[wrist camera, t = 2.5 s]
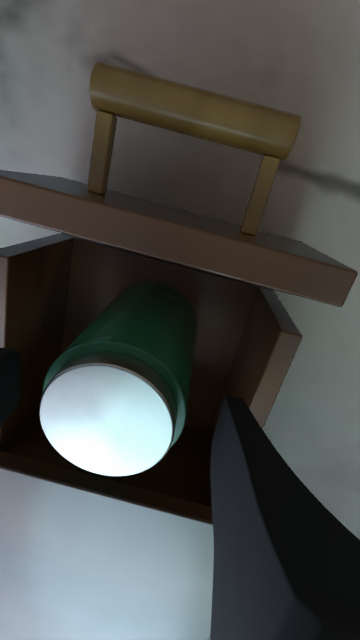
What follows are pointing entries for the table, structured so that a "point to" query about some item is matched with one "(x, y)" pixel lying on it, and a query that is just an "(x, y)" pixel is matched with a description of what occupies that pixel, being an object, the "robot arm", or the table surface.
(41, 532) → the cabinet
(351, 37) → the table surface
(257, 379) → the drawer
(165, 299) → the can
